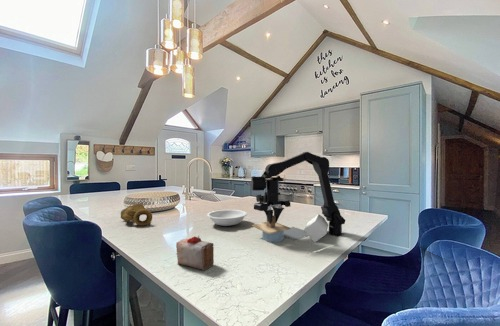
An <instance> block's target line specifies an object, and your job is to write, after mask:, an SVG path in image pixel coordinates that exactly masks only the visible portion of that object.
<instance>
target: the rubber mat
mask: <svg viewBox="0 0 500 326" xmlns="http://www.w3.org/2000/svg"><path fill="white" fill-rule="evenodd" d="M308 237H309V236H308V235H307V233H306V232H305V231H304V229H301V228H298V227H295V226H290V229H288V230H284V238H286V239H288V240H292V241H297V240H300V239H304V238H308Z"/></svg>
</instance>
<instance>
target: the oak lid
mask: <svg viewBox="0 0 500 326" xmlns="http://www.w3.org/2000/svg"><path fill="white" fill-rule="evenodd" d="M275 220H276V216H274V215H273V216H272V222H271V224H270V223H269V221H268V219H267V218H266V221H265V222H260V223H255V224H251V226H252V227H253V228H255V229H258V230H260V231H264V232H266V233H268V234H272V233H276V232H280V231H284V230H288V229H290V227H291V226H290V227H289V226H288V225H285V224H282V223H280V222H279V223H278V221H277V222H276V223H275Z"/></svg>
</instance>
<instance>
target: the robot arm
mask: <svg viewBox="0 0 500 326" xmlns="http://www.w3.org/2000/svg"><path fill="white" fill-rule="evenodd" d="M303 162H306V163H308V164H310V165H312V167H313V169H314V171H315V173H316V174H317V176H318V177H317V178H318V180H319V185H320V189H321V195H322V199H323V205H322V206H320V209H321V214H322V215H323V217H324V218H325V220H326V222H328V231H327V233H326V235H331V236H334V237H340V236H344V235H345V233H343V225H345V222H346V219H345V218H344V217H343V216H342V215H341V212H340V209H339V207H338V205H337V204H336V202H335V199H334V196H333V192H332V191H333V189H332V186H331V183H330V178H329V171H330V160H329V159H328V158H327V157H325V156H320V155H317V154H314V153H311V152H309V151H304V152H302V153H300V154H297V155H295V156H292V157H291V158H287V159H285V160H283V161H279V162H273V163H269V164H267V165H266V167H265V170H264V172H263V173H262V174H261V176H255V175H254V176H251V180H250V184H249V185H250V191H251V192H256V191H257V192H259V191H265V189H266V191H265V192H264V195H262V194H257V195H256V197H255V199H256V202H255V203H254V204H253V210H255V211H260V212H264V214H265V216H266V220H267V219H268V221H269V223H270V224H271V222H272V216H276V220H275V223H276V222H277V223H278V221H279V218H280V216H281V214H282V212H283V211H284V210H285V208H288V207H289V208H290V207H291V201H290V200H288V199H279V198H280V196H281V192H279V189H280V188H279V182H282V181H283V180H284V179H283V178H282V177H281V176H280V174H281V173H283V172H284V171H285V170H287V169H289V168H292V167H293V166H296V165H299V164H301V163H303ZM283 206H284V207H283Z"/></svg>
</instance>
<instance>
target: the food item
mask: <svg viewBox="0 0 500 326" xmlns="http://www.w3.org/2000/svg"><path fill="white" fill-rule="evenodd" d="M175 246H176V257H177V265H182V266H187V267H190V268H195V269H199V270H202V271H207V270H208V269H209V268H210V267H212V266H213V265H214V262H215V260H214V258H215V256H214V254H215V253H214V252H215V251H214V243H213V242H209V241H204V240H202V238H200V235H198V236H191V238H183V239H180V240H178V241H177V242H176V245H175Z"/></svg>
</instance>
